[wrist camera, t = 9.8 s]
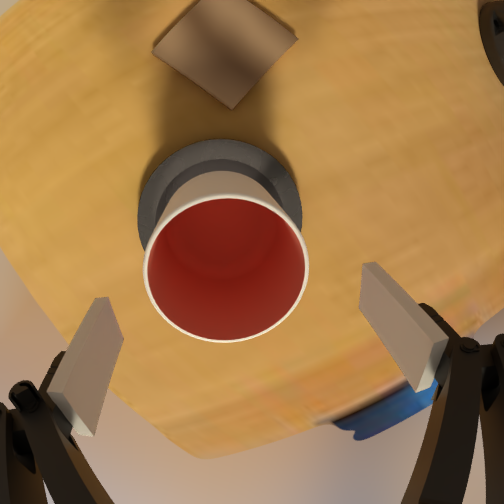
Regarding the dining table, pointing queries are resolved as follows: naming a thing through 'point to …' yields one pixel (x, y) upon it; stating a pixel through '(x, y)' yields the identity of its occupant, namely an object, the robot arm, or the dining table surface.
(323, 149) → the dining table surface
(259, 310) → the cup
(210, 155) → the grey plate
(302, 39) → the dining table surface
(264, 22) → the oak coaster
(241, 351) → the dining table surface
